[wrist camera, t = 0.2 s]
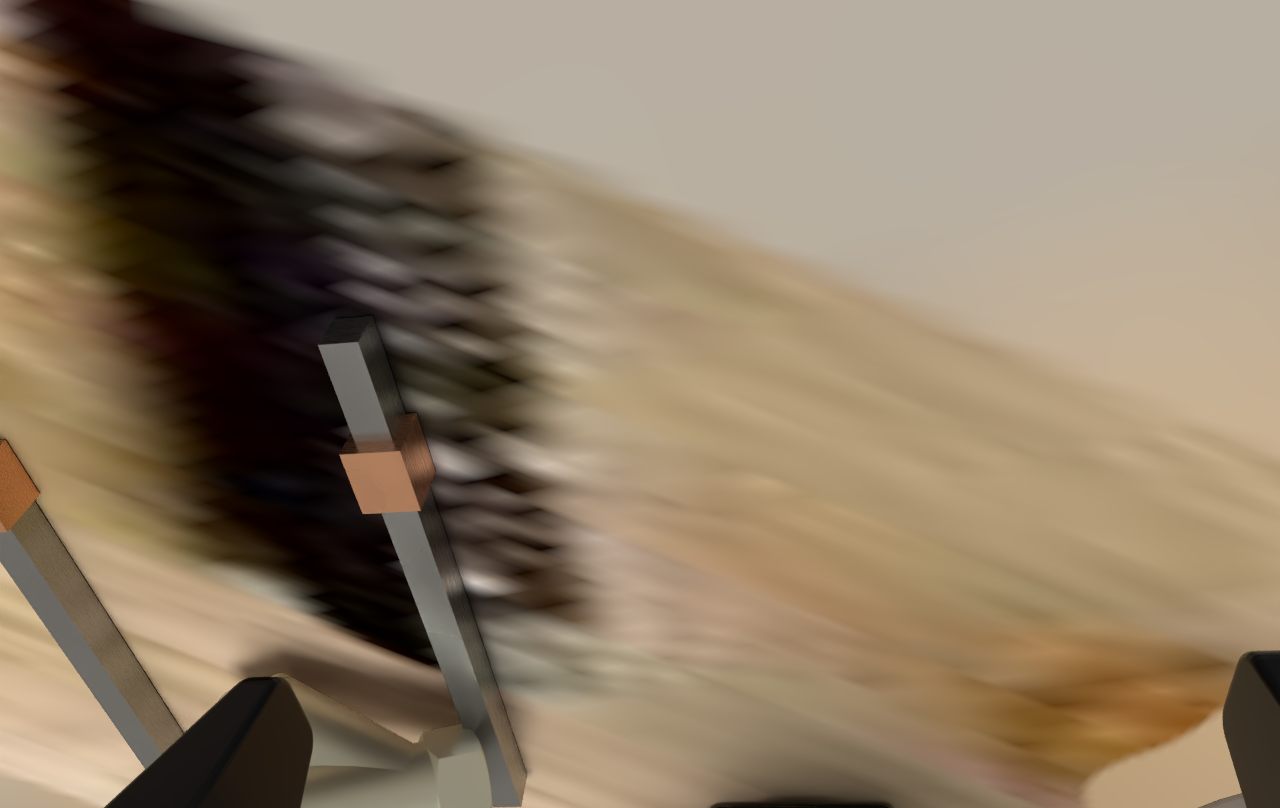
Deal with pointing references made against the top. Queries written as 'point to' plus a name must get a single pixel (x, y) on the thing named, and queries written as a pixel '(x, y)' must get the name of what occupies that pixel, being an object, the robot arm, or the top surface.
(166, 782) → the robot arm
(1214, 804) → the glass holder
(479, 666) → the grey metal bars
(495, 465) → the top surface
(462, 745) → the pipe fitting
